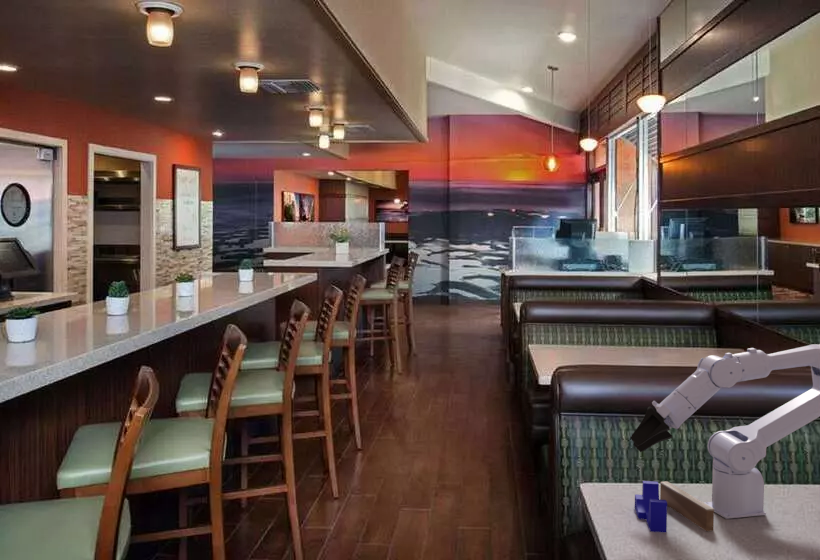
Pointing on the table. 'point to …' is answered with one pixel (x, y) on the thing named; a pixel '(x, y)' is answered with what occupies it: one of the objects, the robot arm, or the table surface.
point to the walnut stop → (687, 506)
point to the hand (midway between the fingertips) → (635, 445)
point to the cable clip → (652, 507)
